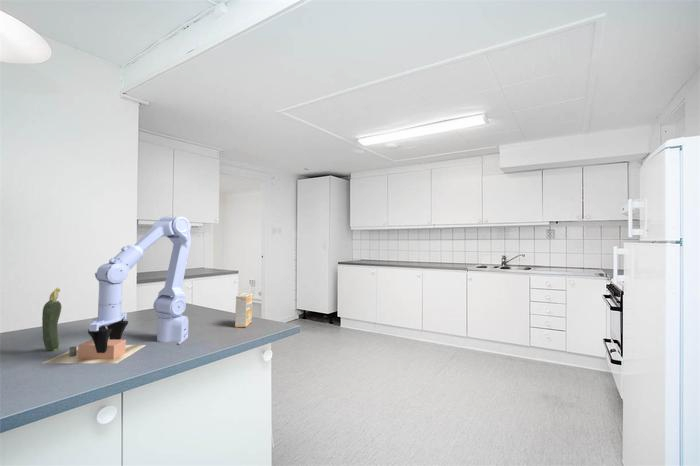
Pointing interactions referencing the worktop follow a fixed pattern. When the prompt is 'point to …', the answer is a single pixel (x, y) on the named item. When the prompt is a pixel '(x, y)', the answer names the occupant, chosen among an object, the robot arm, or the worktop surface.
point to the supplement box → (243, 309)
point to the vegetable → (51, 321)
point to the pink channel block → (112, 352)
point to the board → (73, 358)
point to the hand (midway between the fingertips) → (108, 348)
